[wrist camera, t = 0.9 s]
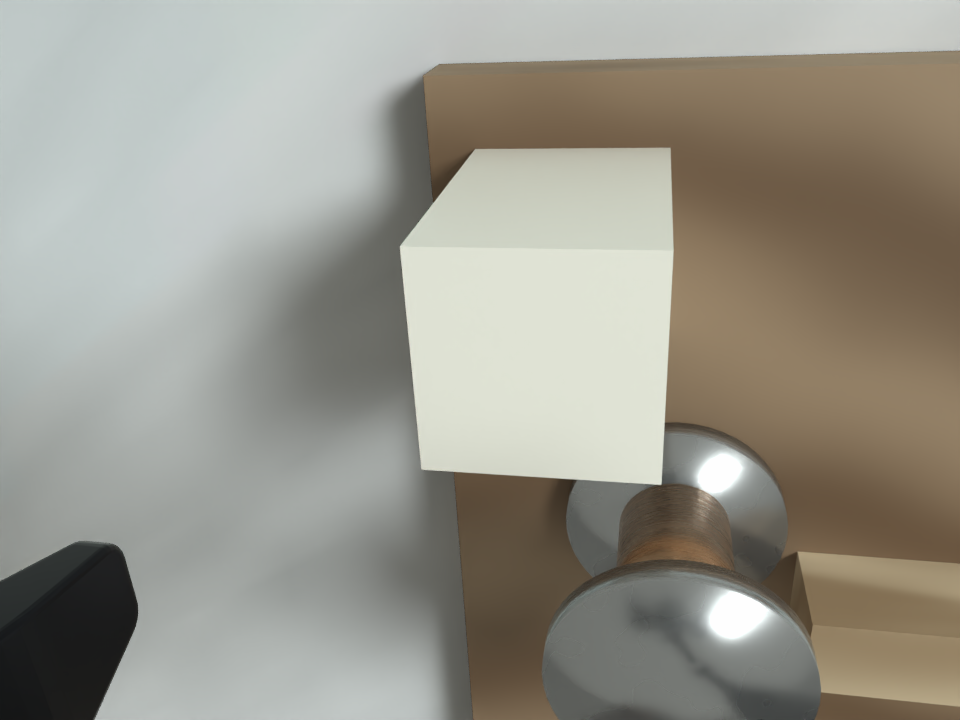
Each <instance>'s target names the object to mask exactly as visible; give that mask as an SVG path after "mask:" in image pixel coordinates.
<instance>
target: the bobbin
mask: <svg viewBox="0 0 960 720" xmlns="http://www.w3.org/2000/svg"><path fill="white" fill-rule="evenodd" d="M566 526H567V533H568V537H569V541H570V544H571V547H572V549H573V551H574V553H575V555H576V557H577V558H578V560H579V562H580V563H581V565H582V566H583V567H584V568H585V570H586V571H587V572H588V573H589V574H590V575H591V576H592V577H593V578H591V579H590V580H588V581H586V582H585V583H583V584H582V585H581V586H579V587H578V588H577V589H575V590H574V591H573V592H572V593H571V594H570V595H569V596H568V597H567V598H566V599H565V600H564V601H563V602H562V604H561V605H560V607H559V608H558V610H557V611H556V612H555V614H554V616H553V618H552V621H551V623H550V625H549V629H548V633H547V637H546V642H545V648H544V655H543V662H542V679H543V686H544V690H545V693H546V697H547V699H548V701H549V703H550V706H551V708H552V710H553V711H554V713H555V714H556V716H557V717H558V719H559V720H814V719H815V717H816V715H817V712H818V708H819V704H820V697H821V684H820V675H819V670H818V665H817V660H816V655H815V651H814V647H813V644H812V641H811V638H810V636H809V634H808V632H807V630H806V628H805V626H804V624H803V623H802V621H801V620H800V618H799V617H798V616H797V614H796V613H795V612H794V611H793V609H792V608H791V607H790V606H789V605H788V604H787V603H786V602H785V601H784V600H783V599H781V598H780V597H779V596H778V595H776V594H775V593H774V592H773V591H771V590H770V589H768V588H767V587H765V586H763V585H762V584H761V583H762V582H763V581H764V580H765V579H766V578H767V577H768V576H769V575H770V573H771V572H772V571H773V570H774V568H775V567H776V565H777V564H778V562H779V560H780V559H781V556H782V554H783V551H784V549H785V545H786V541H787V535H788V520H787V512H786V507H785V503H784V498H783V494H782V491H781V487H780V485H779V483H778V481H777V479H776V476H775V475H774V473H773V472H772V470H771V469H770V467H769V466H768V464H767V463H766V462H765V461H764V460H763V459H762V458H761V457H760V456H759V454H757V453H756V452H755V451H754V450H752V449H751V448H750V447H749V446H748V445H746V444H744V443H743V442H741V441H740V440H738V439H737V438H735V437H732V436H730V435H728V434H726V433H724V432H722V431H719V430H716V429H713V428H710V427H706V426H701V425H697V424H690V423H680V422H665V425H664V445H663V464H662V483H661V485H654V484H639V483H623V482H607V481H591V480H576V479H574V480H573V482H572V485H571V489H570V493H569V499H568V505H567V513H566Z"/></svg>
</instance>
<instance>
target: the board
mask: <svg viewBox="0 0 960 720" xmlns="http://www.w3.org/2000/svg"><path fill="white" fill-rule="evenodd" d="M423 81H424V94H425V106H426V119H427V132H428V145H429V158H430V171H431V184H432V197H433V203H434V202H435V200H436V199H437V198H438V196H439V195H440V194H441V193H442V191H443V190H444V189H445V187H446V186H447V185H448V184H449V182H450V181H451V180H452V178H453V177H454V176H455V175H456V173H457V172H458V171H459V169H460V168H461V167H462V165H463V164H464V163H465V162H466V160H467V159H468V158H469V156H470V155H471V154H472V153H473V151H474V150H475V149H553V148H671V180H672V214H673V248H674V252H673V271H672V291H671V310H670V329H669V348H668V368H667V387H666V406H665V422H680V423H690V424H697V425H701V426H706V427H710V428H713V429H716V430H719V431H722V432H724V433H726V434H728V435H730V436H732V437H735V438H737V439H738V440H740V441H741V442H743V443H744V444H746V445H748V446H749V447H750V448H751V449H752V450H754V451H755V452H756V453H757V454H759V456H760V457H761V458H762V459H763V460H764V461H765V462H766V463H767V464H768V466H769V467H770V469H771V470H772V472H773V473H774V475H775V476H776V479H777V481H778V483H779V485H780V487H781V491H782V494H783V498H784V503H785V507H786V512H787V520H788V535H787V541H786V545H785V549H784V551H783V554H782V556H781V559H780V560H779V562H778V564H777V565H776V567H775V568H774V570H773V571H772V572H771V573H770V575H769V576H768V577H767V578H766V579H765V580H764V581H763V582H762V583H761V584H762V585H763V586H765V587H767V588H768V589H770V590H771V591H773V592H774V593H775V594H776V595H778V596H779V597H780V598H781V599H783V600H784V601H785V602H786V603H787V604H788V605H789V606H790V601H791V594H792V587H793V580H794V573H795V566H796V559H797V552H811V553H824V554H837V555H851V556H864V557H877V558H891V559H904V560H917V561H930V562H944V563H957V564H960V51H934V52H895V53H856V54H816V55H777V56H738V57H699V58H660V59H620V60H581V61H542V62H503V63H463V64H439V65H438V66H436V67H435V68H433V69H432V70H431V71H429V72H428V73H426V74H425V75H423ZM454 480H455V493H456V506H457V519H458V531H459V544H460V557H461V570H462V583H463V596H464V609H465V622H466V634H467V647H468V660H469V673H470V686H471V699H472V712H473V720H559V719H558V717H557V716H556V714H555V713H554V711H553V710H552V708H551V706H550V703H549V701H548V699H547V697H546V693H545V690H544V686H543V679H542V662H543V655H544V648H545V642H546V637H547V633H548V629H549V625H550V623H551V621H552V618H553V616H554V614H555V612H556V611H557V610H558V608H559V607H560V605H561V604H562V602H563V601H564V600H565V599H566V598H567V597H568V596H569V595H570V594H571V593H572V592H573V591H574V590H575V589H577V588H578V587H579V586H581V585H582V584H583V583H585V582H586V581H588V580H590V579H591V578H593V577H592V576H591V575H590V574H589V573H588V572H587V571H586V570H585V568H584V567H583V566H582V565H581V563H580V562H579V560H578V558H577V557H576V555H575V553H574V551H573V549H572V547H571V544H570V541H569V537H568V533H567V526H566V513H567V505H568V499H569V493H570V489H571V485H572V482H573V480H574V479H560V478H544V477H529V476H513V475H497V474H481V473H466V472H454ZM814 720H960V707H958V706H948V705H939V704H929V703H920V702H910V701H900V700H891V699H881V698H871V697H862V696H852V695H842V694H833V693H823V692H821V697H820V704H819V708H818V712H817V715H816V717H815V719H814Z"/></svg>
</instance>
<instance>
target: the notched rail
mask: <svg viewBox="0 0 960 720" xmlns="http://www.w3.org/2000/svg"><path fill="white" fill-rule="evenodd" d="M790 607H791V608H792V609H793V611H794V612H795V613H796V614H797V616H798V617H799V618H800V620H801V621H802V623H803V624H804V626H805V628H806V630H807V632H808V634H809V636H810V638H811V641H812V644H813V647H814V651H815V655H816V660H817V665H818V670H819V675H820V684H821V692H823V693H833V694H842V695H852V696H862V697H871V698H881V699H891V700H900V701H910V702H920V703H929V704H939V705H948V706H958V707H960V564H957V563H944V562H930V561H917V560H904V559H891V558H877V557H864V556H851V555H837V554H824V553H811V552H797V559H796V566H795V573H794V580H793V587H792V594H791V601H790Z"/></svg>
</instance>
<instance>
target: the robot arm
mask: <svg viewBox="0 0 960 720" xmlns="http://www.w3.org/2000/svg"><path fill="white" fill-rule="evenodd" d="M137 618H138V603H137V599H136V596H135V592H134V589H133V585H132V581H131V578H130V574H129V571H128V567H127V564H126V560H125V557H124V554H123V552H122V551H121V549H120V548H119V547H118V546H116V545H114V544H110V543H100V542H90V541H79V542H75V543H73V544H71V545H69V546H67V547H65V548H63V549H61V550H59V551H57V552H56V553H54V554H52V555H50V556H48V557H46V558H44V559H42V560H40V561H38V562H36V563H34V564H33V565H31V566H29V567H27V568H25V569H23V570H21V571H19V572H17V573H15V574H13V575H11V576H9V577H8V578H6V579H4V580H2V581H0V720H94V719H95V717H96V715H97V713H98V710H99V708H100V706H101V704H102V701H103V699H104V697H105V695H106V693H107V690H108V688H109V686H110V684H111V681H112V679H113V677H114V675H115V672H116V670H117V668H118V666H119V663H120V661H121V659H122V657H123V654H124V652H125V650H126V648H127V645H128V643H129V641H130V639H131V636H132V634H133V632H134V629H135V627H136V623H137Z"/></svg>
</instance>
